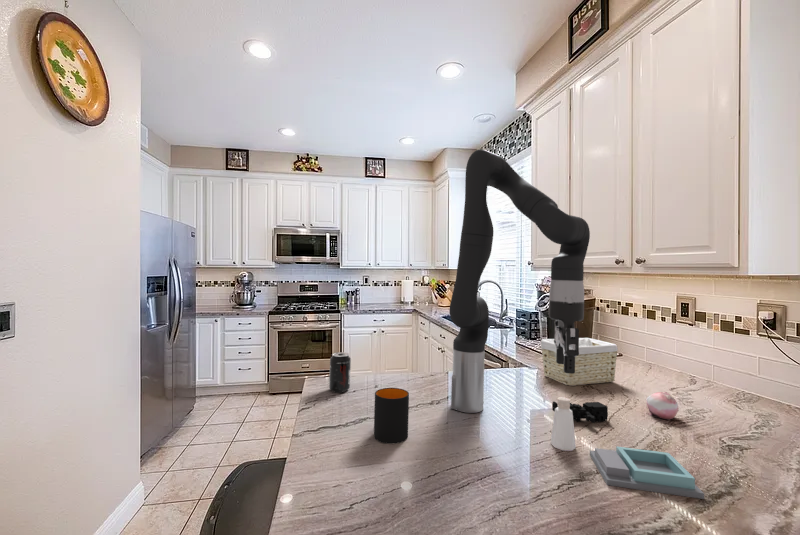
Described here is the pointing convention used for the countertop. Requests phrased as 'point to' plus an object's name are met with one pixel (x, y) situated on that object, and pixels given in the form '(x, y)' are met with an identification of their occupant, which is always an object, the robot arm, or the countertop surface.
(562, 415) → the salt shaker
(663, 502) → the countertop surface
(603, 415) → the toy
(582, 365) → the storage basket
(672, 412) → the onion
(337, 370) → the beverage can
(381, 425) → the mug
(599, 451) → the grey and blue tray
